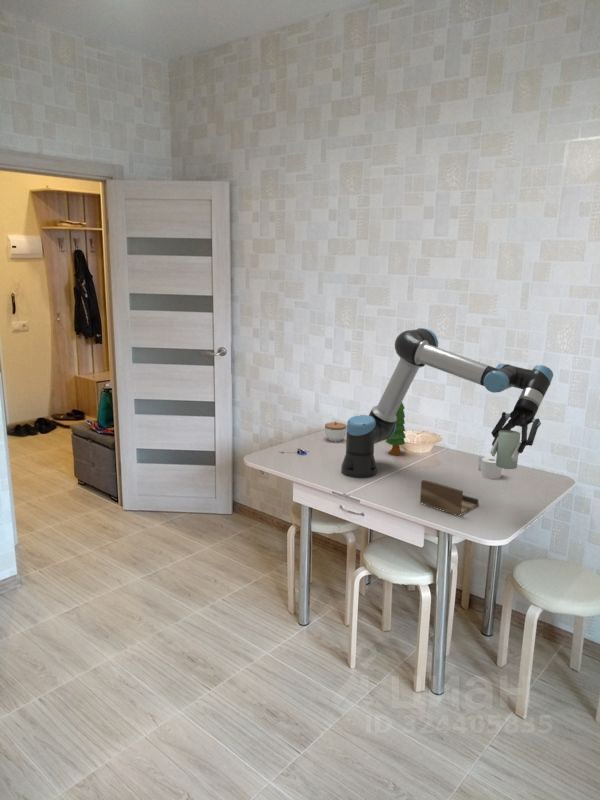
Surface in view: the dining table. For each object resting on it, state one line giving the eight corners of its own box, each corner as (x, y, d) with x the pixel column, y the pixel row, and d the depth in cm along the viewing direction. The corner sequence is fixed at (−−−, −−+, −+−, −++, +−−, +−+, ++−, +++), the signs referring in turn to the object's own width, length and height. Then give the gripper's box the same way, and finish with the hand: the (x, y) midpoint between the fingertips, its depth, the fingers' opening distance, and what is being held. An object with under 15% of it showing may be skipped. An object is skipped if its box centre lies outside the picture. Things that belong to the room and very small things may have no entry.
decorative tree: (392, 457, 281) (396, 392, 274) (380, 451, 288) (383, 389, 282) (409, 454, 285) (413, 391, 279) (396, 448, 293) (399, 387, 287)
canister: (500, 469, 209) (504, 435, 207) (492, 462, 216) (495, 429, 214) (520, 469, 210) (523, 435, 207) (511, 462, 217) (514, 429, 214)
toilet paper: (478, 469, 266) (480, 454, 264) (503, 475, 259) (505, 459, 257) (470, 474, 260) (471, 458, 258) (495, 480, 252) (497, 464, 251)
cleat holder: (440, 494, 236) (442, 471, 234) (478, 505, 225) (480, 482, 223) (420, 503, 226) (421, 480, 224) (458, 516, 215) (460, 491, 213)
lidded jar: (346, 443, 301) (347, 424, 299) (325, 442, 301) (325, 424, 299) (344, 437, 312) (345, 419, 310) (323, 436, 311) (324, 419, 309)
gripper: (558, 415, 213) (533, 469, 205) (504, 405, 227) (479, 456, 219) (553, 402, 208) (528, 457, 201) (499, 393, 222) (473, 444, 214)
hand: (502, 456), depth 210 cm, fingers closed on canister, 7 cm apart
